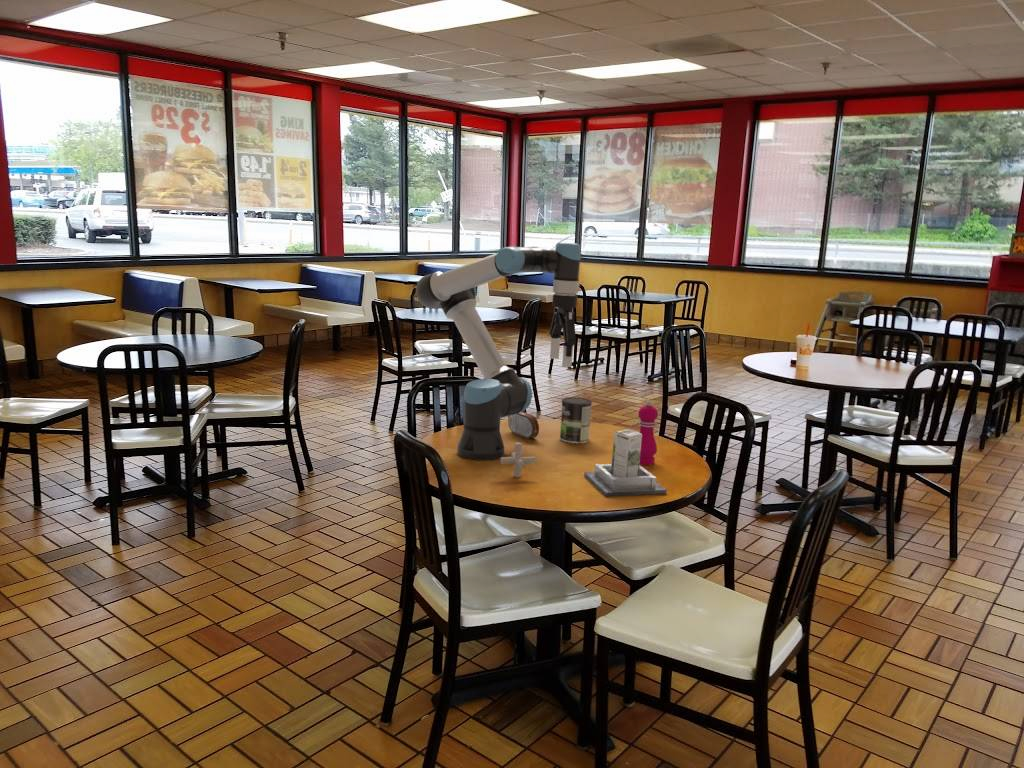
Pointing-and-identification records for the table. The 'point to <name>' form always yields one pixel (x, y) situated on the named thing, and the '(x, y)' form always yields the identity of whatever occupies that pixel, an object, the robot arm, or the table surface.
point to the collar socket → (623, 482)
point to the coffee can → (575, 420)
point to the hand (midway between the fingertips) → (560, 362)
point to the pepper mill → (647, 433)
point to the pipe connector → (517, 459)
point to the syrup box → (626, 453)
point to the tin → (524, 424)
